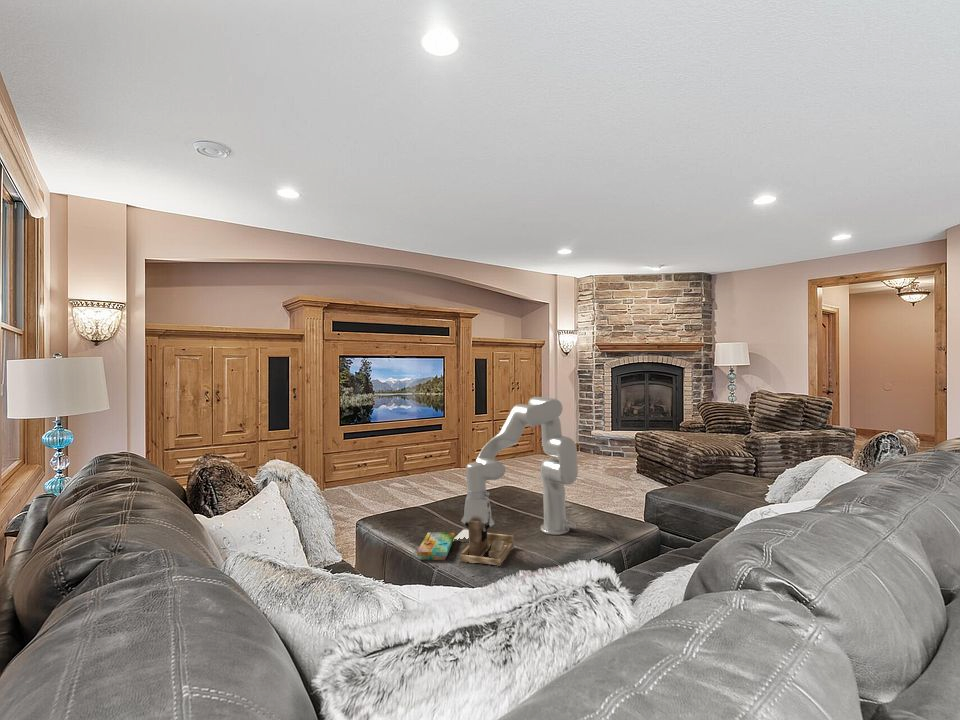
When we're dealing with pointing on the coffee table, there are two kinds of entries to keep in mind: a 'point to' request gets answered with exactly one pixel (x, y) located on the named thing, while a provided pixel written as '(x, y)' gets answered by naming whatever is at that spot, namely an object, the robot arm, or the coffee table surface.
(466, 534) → the mat
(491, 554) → the offcut low
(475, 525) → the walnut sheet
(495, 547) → the offcut top
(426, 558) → the puzzle game
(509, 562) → the coffee table surface
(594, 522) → the coffee table surface
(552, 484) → the robot arm
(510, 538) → the frame
